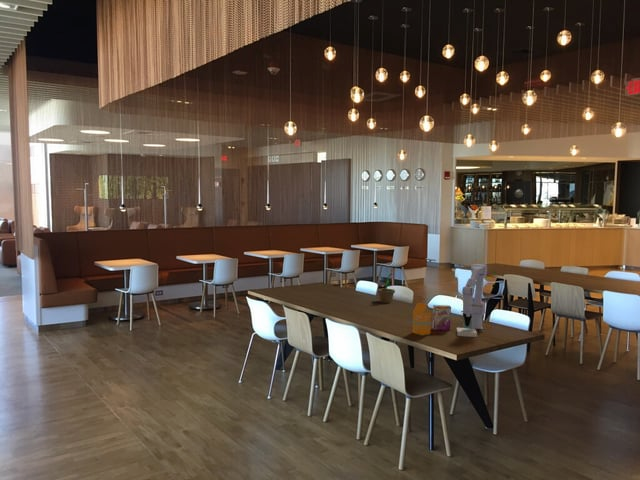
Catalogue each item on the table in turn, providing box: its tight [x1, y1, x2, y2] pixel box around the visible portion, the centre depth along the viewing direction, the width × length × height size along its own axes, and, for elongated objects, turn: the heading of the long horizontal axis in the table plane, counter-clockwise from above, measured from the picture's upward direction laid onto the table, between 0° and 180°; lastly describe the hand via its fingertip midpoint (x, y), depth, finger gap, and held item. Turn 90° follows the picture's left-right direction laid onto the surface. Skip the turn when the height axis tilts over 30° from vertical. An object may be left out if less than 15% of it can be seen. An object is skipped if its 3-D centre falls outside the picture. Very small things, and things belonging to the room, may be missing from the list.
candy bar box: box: [431, 304, 452, 331], centre depth 353 cm, size 11×5×16 cm, turn 92°
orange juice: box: [412, 302, 432, 336], centre depth 342 cm, size 8×9×20 cm
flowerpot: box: [377, 267, 396, 304], centre depth 446 cm, size 14×14×30 cm
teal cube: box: [462, 318, 473, 329], centre depth 342 cm, size 5×5×5 cm
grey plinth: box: [456, 327, 478, 338], centre depth 342 cm, size 12×12×3 cm
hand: (466, 325), depth 342 cm, fingers closed on teal cube, 5 cm apart
